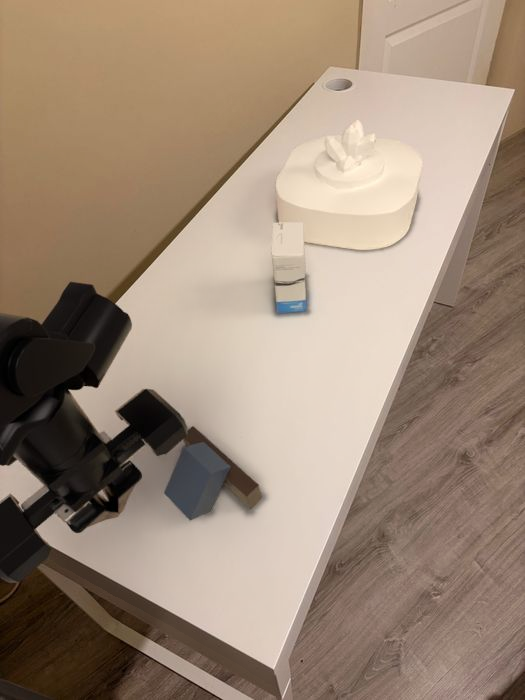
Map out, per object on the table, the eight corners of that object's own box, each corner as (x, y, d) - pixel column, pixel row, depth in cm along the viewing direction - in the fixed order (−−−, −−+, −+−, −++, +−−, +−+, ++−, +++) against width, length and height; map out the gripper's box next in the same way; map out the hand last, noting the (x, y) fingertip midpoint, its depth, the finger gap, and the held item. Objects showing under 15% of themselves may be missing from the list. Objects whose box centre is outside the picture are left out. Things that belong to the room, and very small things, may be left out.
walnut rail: (250, 510, 60) (246, 496, 57) (187, 450, 66) (180, 435, 63) (261, 498, 61) (258, 484, 58) (198, 440, 67) (192, 425, 64)
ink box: (307, 312, 80) (305, 256, 70) (276, 314, 80) (270, 258, 71) (305, 276, 85) (303, 219, 76) (276, 278, 85) (271, 221, 76)
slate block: (193, 527, 59) (180, 502, 53) (167, 500, 62) (153, 473, 56) (236, 486, 62) (228, 457, 56) (210, 461, 65) (200, 432, 59)
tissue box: (303, 164, 107) (301, 87, 95) (422, 177, 100) (436, 95, 88) (266, 236, 93) (257, 156, 80) (401, 256, 86) (415, 172, 73)
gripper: (96, 316, 46) (143, 407, 58) (-106, 453, 38) (-3, 525, 50) (171, 381, 40) (205, 466, 52) (-48, 556, 33) (52, 608, 45)
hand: (117, 511), depth 50 cm, fingers closed
